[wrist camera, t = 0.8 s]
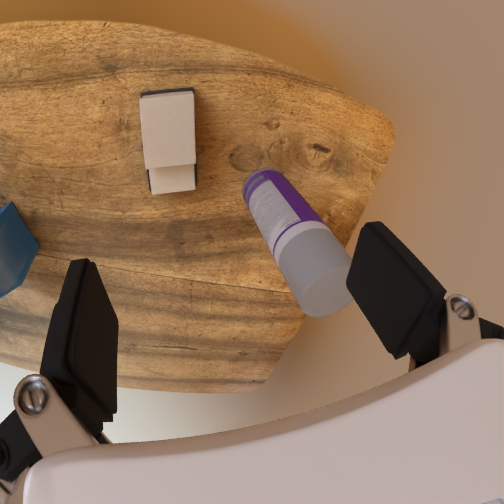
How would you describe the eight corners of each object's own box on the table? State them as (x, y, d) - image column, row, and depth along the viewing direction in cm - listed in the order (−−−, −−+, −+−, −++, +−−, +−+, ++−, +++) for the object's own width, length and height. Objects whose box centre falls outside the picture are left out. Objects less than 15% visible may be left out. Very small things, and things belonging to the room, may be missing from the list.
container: (295, 186, 30) (375, 283, 18) (264, 217, 31) (324, 326, 20) (265, 158, 27) (343, 251, 16) (232, 193, 28) (283, 305, 17)
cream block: (141, 92, 20) (136, 97, 17) (193, 87, 21) (197, 91, 18) (150, 186, 26) (148, 206, 23) (196, 181, 27) (200, 199, 24)
